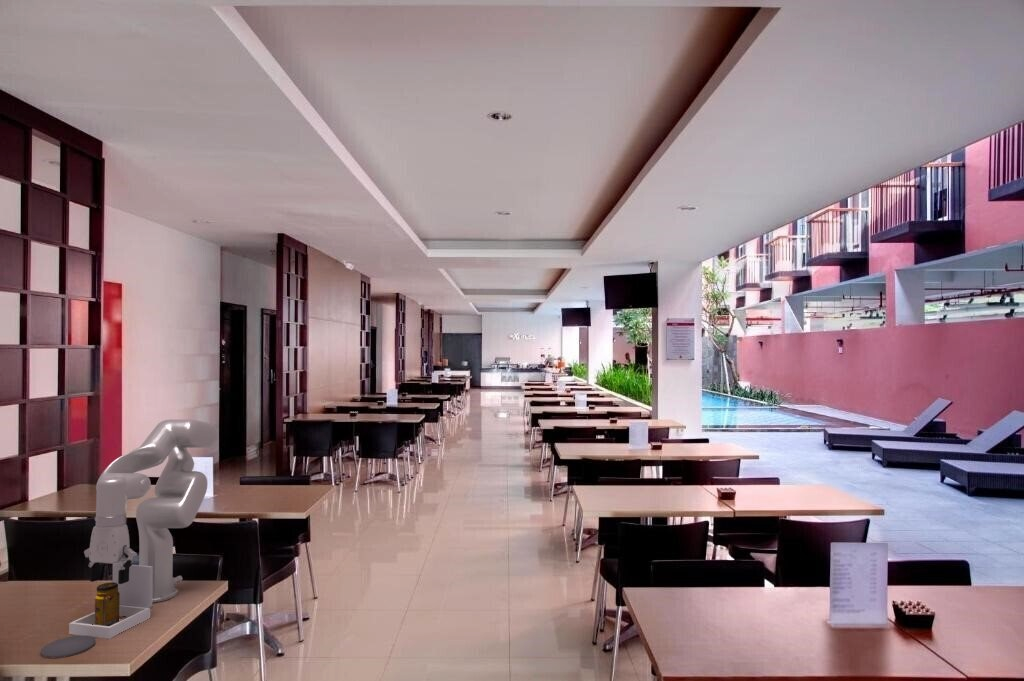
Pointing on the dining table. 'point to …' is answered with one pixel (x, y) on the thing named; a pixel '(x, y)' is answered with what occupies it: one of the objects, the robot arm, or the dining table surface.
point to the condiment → (107, 604)
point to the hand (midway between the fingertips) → (109, 581)
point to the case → (122, 604)
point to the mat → (68, 646)
